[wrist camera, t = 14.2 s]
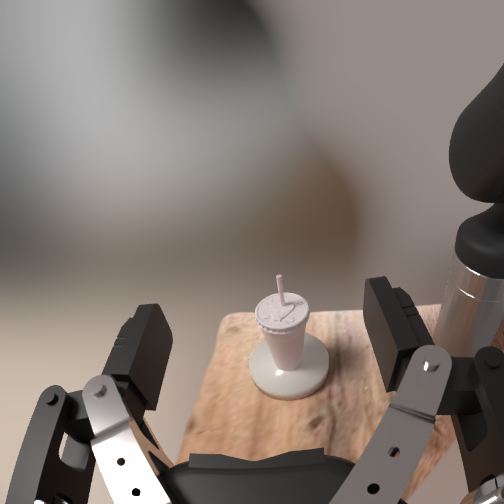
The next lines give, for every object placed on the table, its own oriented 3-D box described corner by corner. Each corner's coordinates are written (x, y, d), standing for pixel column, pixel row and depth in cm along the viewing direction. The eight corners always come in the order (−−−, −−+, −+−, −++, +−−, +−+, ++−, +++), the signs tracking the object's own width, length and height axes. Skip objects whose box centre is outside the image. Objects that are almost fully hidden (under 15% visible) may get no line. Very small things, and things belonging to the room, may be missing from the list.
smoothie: (315, 345, 42) (311, 263, 35) (306, 382, 37) (301, 300, 30) (271, 341, 44) (257, 261, 37) (259, 375, 39) (239, 296, 32)
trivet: (286, 330, 48) (285, 321, 47) (343, 360, 41) (344, 352, 40) (235, 373, 42) (232, 364, 41) (293, 414, 35) (292, 407, 34)
